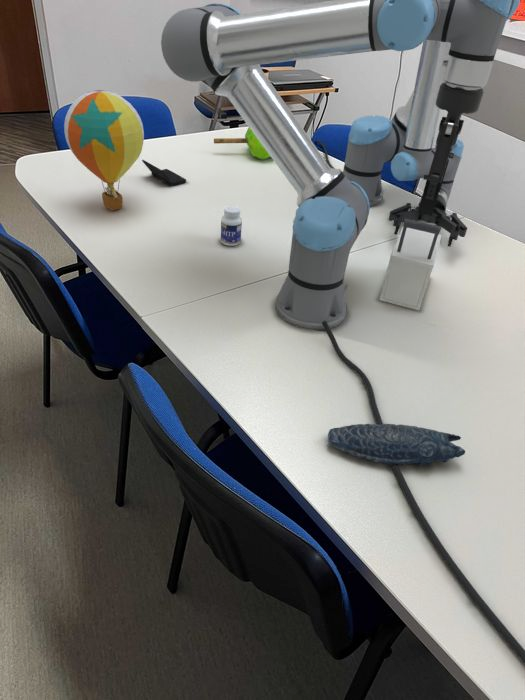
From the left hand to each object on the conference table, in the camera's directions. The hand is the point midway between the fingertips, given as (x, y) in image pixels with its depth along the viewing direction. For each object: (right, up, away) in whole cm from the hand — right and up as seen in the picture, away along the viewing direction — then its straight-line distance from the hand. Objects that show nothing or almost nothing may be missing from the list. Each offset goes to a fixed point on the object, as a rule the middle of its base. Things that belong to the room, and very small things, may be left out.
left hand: (429, 201), depth 104 cm
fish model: (-13, -46, -21) cm, 52 cm away
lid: (+1, -7, +12) cm, 14 cm away
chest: (0, -15, +19) cm, 24 cm away
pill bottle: (-42, -2, +31) cm, 52 cm away
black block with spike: (-64, +24, +60) cm, 91 cm away
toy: (-75, +10, +41) cm, 86 cm away
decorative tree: (-36, +41, +85) cm, 101 cm away
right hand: (+7, -1, +28) cm, 29 cm away
